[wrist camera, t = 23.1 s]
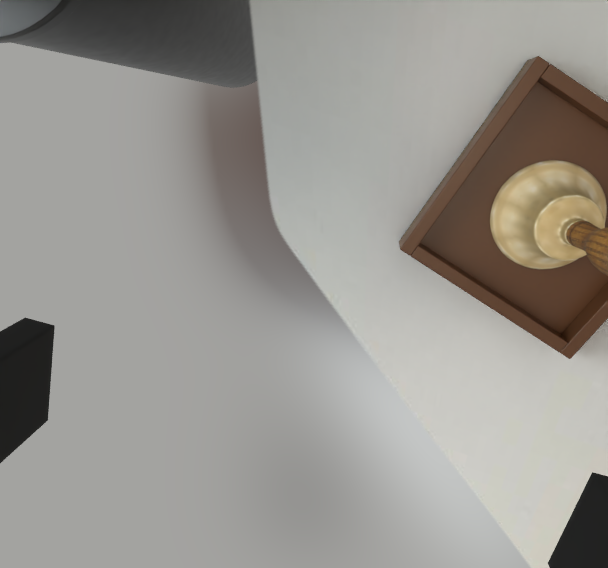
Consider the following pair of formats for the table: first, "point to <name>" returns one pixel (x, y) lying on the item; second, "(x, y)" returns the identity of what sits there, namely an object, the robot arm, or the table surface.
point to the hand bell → (551, 217)
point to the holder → (483, 189)
